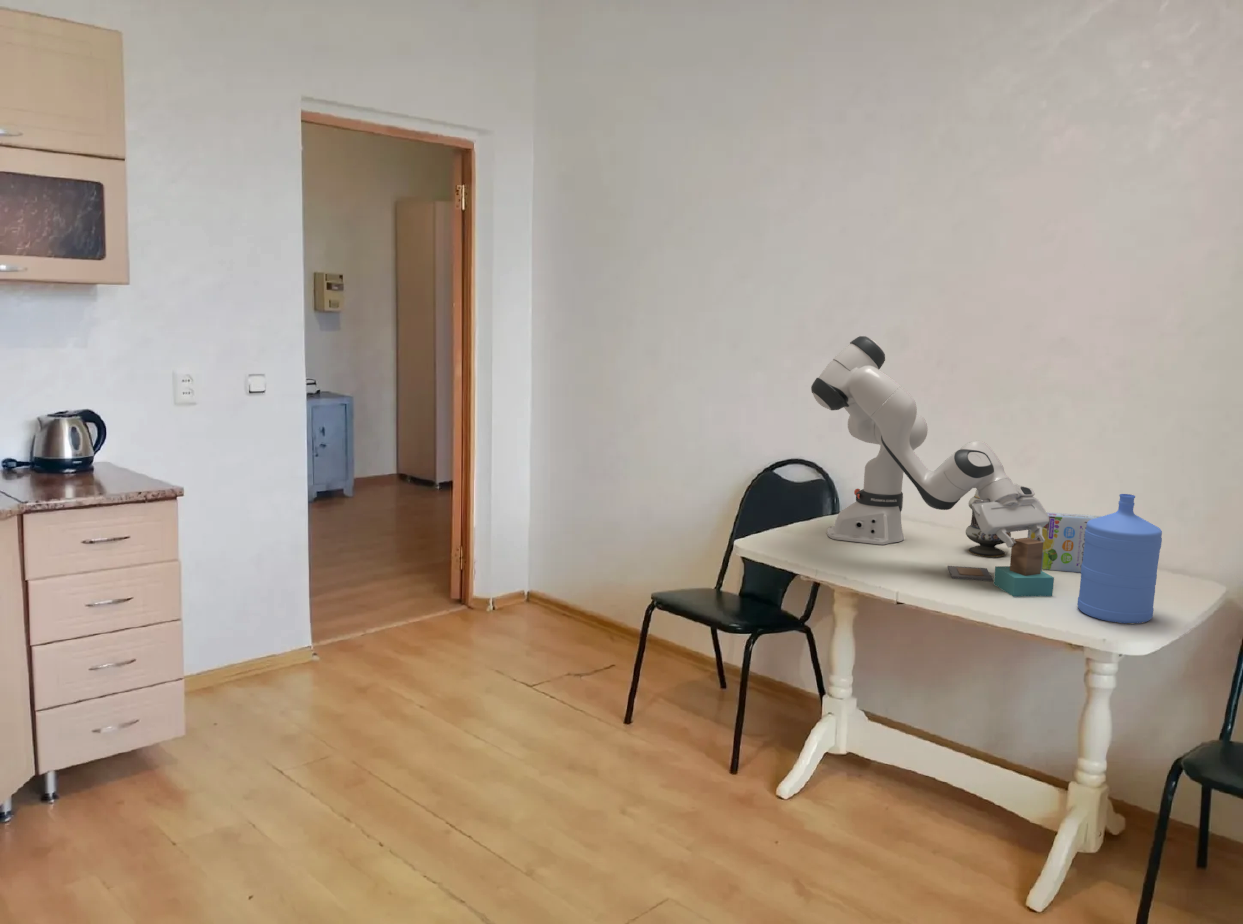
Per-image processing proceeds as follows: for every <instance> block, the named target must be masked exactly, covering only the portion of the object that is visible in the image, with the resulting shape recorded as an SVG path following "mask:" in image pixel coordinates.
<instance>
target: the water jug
mask: <svg viewBox="0 0 1243 924" xmlns="http://www.w3.org/2000/svg"><path fill="white" fill-rule="evenodd" d="M1118 496H1119V501H1118V509H1117V511H1115V512H1112V513H1108V514H1105V515H1101V516H1102V517H1098V518H1095V519H1092V520H1089V521H1088V522H1087V525H1086V529H1085V538H1084V539H1085V544H1084V553H1083V562H1082V565H1081V572H1080V584H1079V592H1078V597H1077V603H1076V604H1077V607H1078V609H1079V610H1080V612H1082V613H1083V614H1085V615H1086V616H1090V617H1092V618H1094V619H1097V620H1102V621H1107V622H1109V623H1110V622H1112V623H1116V622H1118V624H1127V623H1136V624H1143V623H1142V622H1144V623H1146V622H1149V621H1150V620H1152V618H1153V616H1154V610H1155V609H1154V603H1155V593H1156V585H1157V578H1158V575H1157V574H1158V566H1159V560H1160V552H1161V549H1162V543H1163V539H1162V538H1163V537H1162V535H1163V531H1162V529H1161V528H1160V527H1158V526H1157V525H1155V524H1153V523H1152V522H1149V521H1147V520H1146V519H1144V518H1142V517H1140V516H1139V515H1137V514H1136V513H1135V512H1134V508H1135V507H1134V506H1135V498H1136V495H1134V494H1128V493H1121V494H1119V495H1118Z"/></svg>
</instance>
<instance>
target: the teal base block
mask: <svg viewBox="0 0 1243 924" xmlns="http://www.w3.org/2000/svg"><path fill="white" fill-rule="evenodd" d="M993 576H994V577H993V585H994V586H996V587H997V586H998V587H997V588H999V589H1001V590H1002V591H1004V592H1006V594H1008V595H1010V596H1011V597H1015V598H1017V597H1053V594H1054V592H1053V591H1054V584H1055V583H1054V581H1055V577H1054V576H1052V575H1050V574H1048V573H1047V572H1045V571H1043V570H1042V571H1041V574H1036V575H1029V576H1024V575H1021V574H1018V573H1015V572H1013V571H1010V565H1007V566H1006V565H1005V566H1004V565H1003V566H1002V565H1001V566H1000V565H996V566H995V567H994V575H993Z"/></svg>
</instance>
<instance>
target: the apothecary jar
mask: <svg viewBox="0 0 1243 924" xmlns="http://www.w3.org/2000/svg"><path fill="white" fill-rule="evenodd" d="M974 500H981V499H980V498H979V496H978V493H977V489H975V493H974V495H973V496H972V497H971V498H970V499H968V503H967V504H968V507H969V508H970V509H971V510H972V511H971V521H970V525H968V526H967V527H966V529H965V535H966V537H967V538H968V539H969V540H970V541H972V542H974V543H976V544H977V545H975V546H971V547H969V548H968V550H967V551H968V553H970V554H972V555H975V556H978V557H985V558H986V557H987V558H1001V557H1005V555H1006V552H1005V551H1003V549H1000V548H998V547H996V546H998V545H1003V544H1006V543H1005V542H1004V541H1002V540H1001V539H1000V538H999V537H998V536H997V535H996V534H988V535H986V534H984V533H983V532H982V531H981V529H980V527H979V525H978V523H977V520H976V518H975V514H974V511H973V509H972V503H973V502H974ZM1006 534H1007V535H1009V536H1010V537H1011V538H1012V532H1006Z"/></svg>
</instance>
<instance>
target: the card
mask: <svg viewBox="0 0 1243 924" xmlns="http://www.w3.org/2000/svg"><path fill="white" fill-rule="evenodd" d="M947 570H948V571H949V574H950V576H951V578H952V579H956V580H957V579H958V580H969V581H970V580H972V581H985V582H994V577H993V576H992V574H991V573H990V571H989V569H988V568H986V567H976V566H975V567H973V566H961V565H960V566H959V565H947Z"/></svg>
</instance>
